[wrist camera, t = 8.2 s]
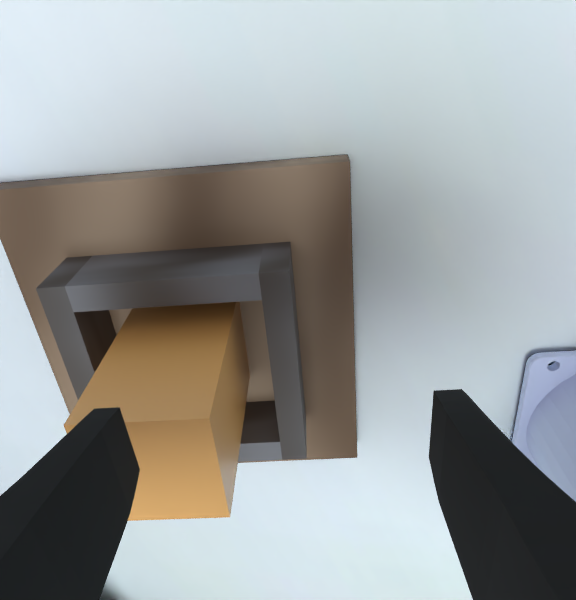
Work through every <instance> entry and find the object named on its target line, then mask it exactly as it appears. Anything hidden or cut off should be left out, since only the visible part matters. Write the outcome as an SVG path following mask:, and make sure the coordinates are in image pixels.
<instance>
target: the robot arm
mask: <svg viewBox="0 0 576 600" xmlns="http://www.w3.org/2000/svg"><path fill="white" fill-rule="evenodd" d="M553 361H555V363H554V364H552V365H549V366H548V364H549V363H551V362H553ZM429 460H430V464H431V469H432V473H433V478H434V483H435V487H436V491H437V495H438V500H439V503H440V506H441V509H442V512H443V515H444V518H445V521H446V523H447V526H448V529H449V532H450V535H451V538H452V541H453V544H454V547H455V549H456V552H457V555H458V558H459V561H460V564H461V567H462V569H463V572H464V575H465V578H466V581H467V584H468V587H469V590H470V592H471V595H472V598H473V600H576V351H560V352H542V353H536V354H534V355H532V356H530V358H529V359H528V360H527V362H526V368H525V373H524V378H523V384H522V389H521V395H520V400H519V405H518V411H517V416H516V422H515V427H514V432H513V438H512V442H511V441H510V440H509V439H508V438H507V437H506V436H505V435H504V434H503V433H502V432H501V431H500V430H499V428H498V427H497V426H496V425H495V424H494V423H493V422H492V421H491V420H490V419H489V418H488V417H487V416H486V415H485V414H484V412H483V411H482V410H481V409H480V408H479V407H478V406H477V405H476V404H475V403H474V401H473V400H472V399H471V398H470V397H469V396H468V395H467V394H466V393H465V392H464V391H463V390H462V389H459V390H439V391H434V395H433V408H432V422H431V435H430V448H429ZM139 472H140V468H139V465H138V462H137V459H136V456H135V452H134V449H133V446H132V443H131V440H130V437H129V434H128V431H127V428H126V425H125V422H124V419H123V416H122V413H121V410H120V407H115V408H96V409H93V410H92V411H91V412H90V413H89V414H88V415H87V416H85V417H84V418H83V419H82V420H81V421H80V422H79V423H78V424H77V425H76V426H75V427H74V428H73V429H72V430H71V431H70V432H69V433H68V434H67V435H66V436H65V437H64V438H62V439H61V440H60V441H59V442H58V443H57V444H56V445H55V446H54V447H53V448H52V449H51V450H50V451H49V452H48V453H47V454H46V455H45V456H44V457H43V458H42V459H40V460H39V461H38V462H37V463H36V464H35V465H34V466H33V467H32V468H31V469H30V470H29V471H28V472H27V473H26V474H25V475H24V476H22V477H21V478H20V479H19V480H18V481H17V482H16V483H15V484H13V485H12V486H11V487H10V488H9V489H8V490H7V491H5V492H4V493H3V494H2V495H1V496H0V600H99V598H100V595H101V593H102V590H103V587H104V584H105V582H106V579H107V576H108V573H109V571H110V568H111V565H112V562H113V560H114V557H115V554H116V552H117V549H118V546H119V543H120V540H121V538H122V535H123V532H124V529H125V526H126V524H127V521H128V518H129V515H130V512H131V508H132V504H133V500H134V496H135V491H136V486H137V482H138V477H139Z"/></svg>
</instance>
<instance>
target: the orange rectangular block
mask: <svg viewBox="0 0 576 600" xmlns="http://www.w3.org/2000/svg"><path fill="white" fill-rule="evenodd" d="M249 379H250V371H249V364H248V357H247V350H246V344H245V337H244V330H243V323H242V316H241V310H240V303H239V302H225V303H210V304H194V305H179V306H163V307H148V308H133V309H132V310H131V312H130V314H129V315H128V317H127V319H126V320H125V322H124V324H123V325H122V327H121V329H120V331H119V332H118V334H117V336H116V337H115V339H114V341H113V342H112V344H111V346H110V348H109V349H108V351H107V353H106V354H105V356H104V358H103V359H102V361H101V363H100V365H99V366H98V368H97V370H96V371H95V373H94V375H93V376H92V378H91V380H90V382H89V383H88V385H87V387H86V388H85V390H84V392H83V393H82V395H81V397H80V398H79V400H78V402H77V404H76V405H75V407H74V409H73V410H72V412H71V414H70V415H69V417H68V419H67V421H66V422H65V424H64V427H65V430H66V432H67V434H68V433H69V432H70V431H71V430H72V429H73V428H74V427H75V426H76V425H77V424H78V423H79V422H80V421H81V420H82V419H83V418H84V417H85V416H87V415H88V414H89V413H90V412H91V411H92V410H93V409H96V408H115V407H120V410H121V413H122V416H123V419H124V422H125V425H126V428H127V431H128V434H129V437H130V440H131V443H132V446H133V449H134V452H135V456H136V459H137V462H138V465H139V468H140V472H139V477H138V482H137V486H136V491H135V496H134V500H133V504H132V508H131V512H130V515H129V518H128V521H131V520H160V519H189V518H218V517H230V513H231V506H232V499H233V492H234V485H235V478H236V471H237V464H238V457H239V450H240V443H241V436H242V429H243V422H244V415H245V407H246V400H247V393H248V386H249Z"/></svg>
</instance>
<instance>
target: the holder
mask: <svg viewBox="0 0 576 600" xmlns="http://www.w3.org/2000/svg"><path fill="white" fill-rule="evenodd" d="M0 239H1V242H2V244H3V247H4V249H5V252H6V254H7V257H8V259H9V262H10V264H11V267H12V269H13V272H14V275H15V277H16V280H17V282H18V285H19V287H20V290H21V292H22V295H23V297H24V300H25V302H26V305H27V307H28V310H29V312H30V315H31V317H32V320H33V323H34V325H35V328H36V330H37V333H38V335H39V338H40V340H41V343H42V345H43V348H44V350H45V353H46V355H47V358H48V360H49V363H50V365H51V368H52V370H53V373H54V376H55V378H56V381H57V383H58V386H59V388H60V391H61V393H62V396H63V398H64V401H65V403H66V406H67V408H68V411H69V413H70V414H71V412H72V410H73V409H74V407H75V405H76V404H77V402H78V400H79V398H80V397H81V395H82V393H83V392H84V390H85V388H86V387H87V385H88V383H89V382H90V380H91V378H92V376H93V375H94V373H95V371H96V370H97V368H98V366H99V365H100V363H101V361H102V359H103V358H104V356H105V354H106V353H107V351H108V349H109V348H110V346H111V344H112V342H113V341H114V339H115V337H116V336H117V334H118V332H119V331H120V329H121V327H122V325H123V324H124V322H125V320H126V319H127V317H128V315H129V314H130V312H131V310H132V309H133V308H148V307H163V306H179V305H194V304H210V303H225V302H239V303H240V310H241V316H242V323H243V330H244V337H245V344H246V350H247V357H248V364H249V371H250V379H249V386H248V393H247V400H246V407H245V415H244V422H243V429H242V436H241V443H240V450H239V457H238V463H244V462H266V461H288V460H311V459H333V458H355V457H357V432H356V390H355V348H354V306H353V264H352V223H351V181H350V160H349V157H348V155H336V156H323V157H311V158H299V159H287V160H274V161H262V162H250V163H238V164H225V165H213V166H201V167H189V168H176V169H164V170H152V171H140V172H127V173H115V174H103V175H90V176H78V177H66V178H54V179H41V180H29V181H17V182H5V183H0Z"/></svg>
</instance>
